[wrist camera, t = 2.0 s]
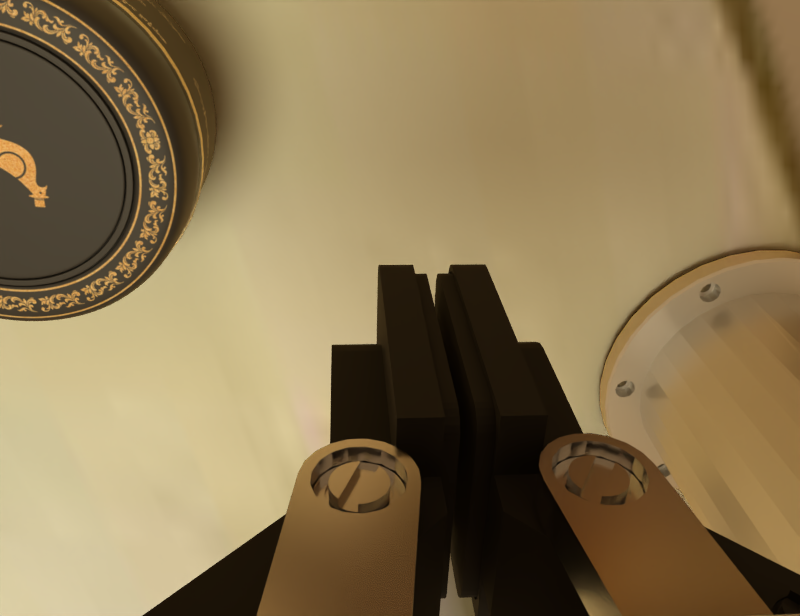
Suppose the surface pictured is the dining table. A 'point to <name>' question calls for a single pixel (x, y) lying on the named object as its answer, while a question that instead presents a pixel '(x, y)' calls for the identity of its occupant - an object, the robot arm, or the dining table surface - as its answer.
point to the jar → (95, 150)
